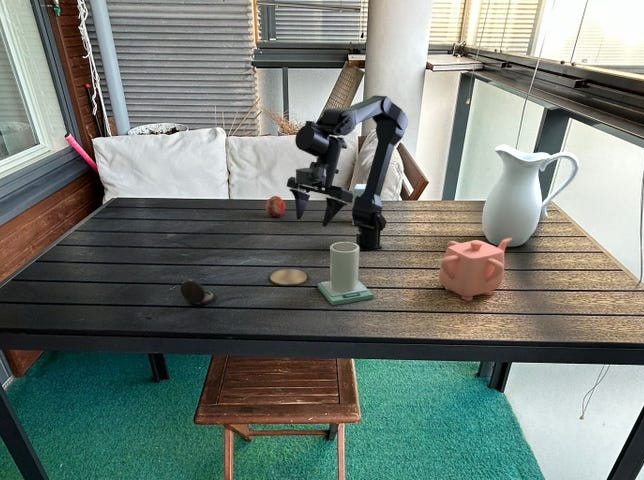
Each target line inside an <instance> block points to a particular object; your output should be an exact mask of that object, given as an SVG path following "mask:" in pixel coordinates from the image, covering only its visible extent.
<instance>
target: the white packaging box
mask: <svg viewBox="0 0 644 480" xmlns="http://www.w3.org/2000/svg"><path fill="white" fill-rule="evenodd" d="M365 187H366V183H356V184H355V186H354V187H353V200H352V206H353V205H354V201H355V198H356V196H359V197H360V196H361V195H362V194H363V193H364V190H365ZM351 224H352V226H354V222H353V221H352V222H351Z"/></svg>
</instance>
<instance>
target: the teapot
mask: <svg viewBox="0 0 644 480" xmlns="http://www.w3.org/2000/svg"><path fill="white" fill-rule="evenodd" d="M511 240H512V238H506V239H504V240H503V241H502V242H501V243H500V244H499V245H497V246H495V245H492V244H491V243H487V242H485V241H483V240H479V239H473V240H470V241H465V242H458V241H456V240H455V241H454V240H451V241H448V243H447V245H446V246H447V249H446V251H445V253H444V256H443V258H442V259H441V262H440V267H439V273H438V279H439V283H440V284H441V285H443V286H444V287H445V290H447V291H452V292H454V293H456V294H458V295H460V296H461V299H462V300H464V301H472V300H473V298H474V297H473V296H477V295H484V296H491V295H492V291H494V290H497V289H499V287H500V286H501V284H502V283H503V280H504V275H505V251H506V248H507V247H508V246H507V244H508V243H509V242H510V241H511Z"/></svg>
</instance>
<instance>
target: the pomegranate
mask: <svg viewBox="0 0 644 480" xmlns="http://www.w3.org/2000/svg"><path fill="white" fill-rule="evenodd" d="M265 210H266V212H267V214H268V215H269V216H271V217H275V218H280V217H281V216H283V215H284V212H285V210H286V202H285V201H284V200H283V199H282V198H281V197H280V196H279V195H273V196H270V198H268V199H267V200H266V203H265Z"/></svg>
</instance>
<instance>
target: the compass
mask: <svg viewBox="0 0 644 480" xmlns="http://www.w3.org/2000/svg"><path fill="white" fill-rule="evenodd" d="M180 293H181V295H182V297H183V298H184V299H185V300H186V301H188V302H190V303H191V304H193V305H197V306H198V305H199V306H201V305H202V306H203V305H207V304H210V303H212V302H213V301H214V300H215V294H214V293H213V292H211V291H209V290H205V287H204V286H203V285H202V284H201V283H200V282H198V281H196V280H194V279H193V278H191V279H187V280H185V281H183V282H182V284H181V285H180Z"/></svg>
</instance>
